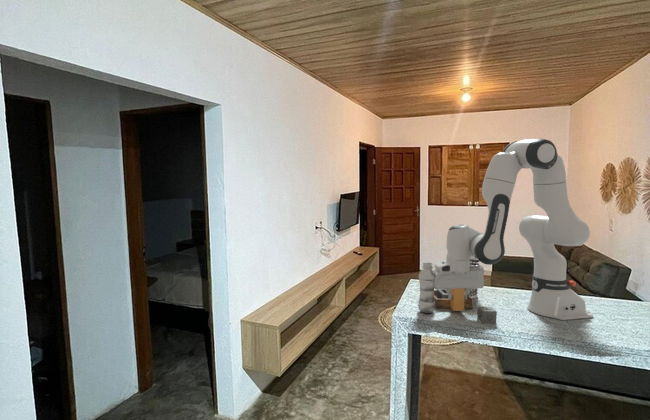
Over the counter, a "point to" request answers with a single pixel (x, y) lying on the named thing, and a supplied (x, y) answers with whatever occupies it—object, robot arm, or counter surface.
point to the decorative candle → (473, 292)
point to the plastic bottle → (426, 289)
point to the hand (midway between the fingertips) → (457, 299)
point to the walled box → (444, 302)
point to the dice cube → (486, 315)
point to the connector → (457, 299)
